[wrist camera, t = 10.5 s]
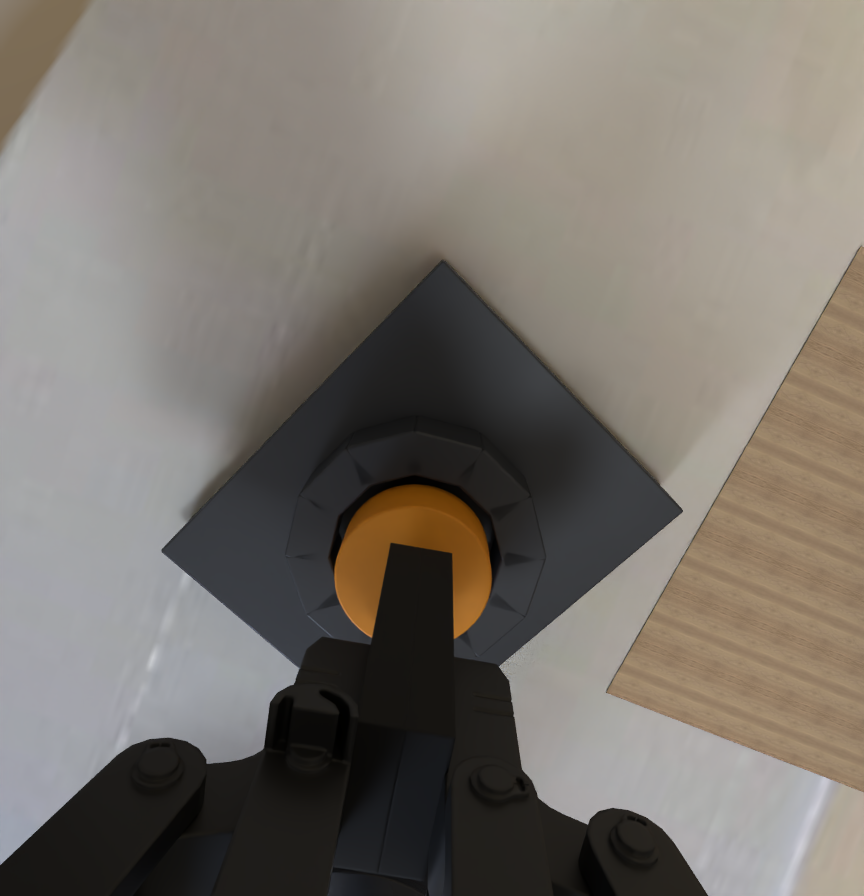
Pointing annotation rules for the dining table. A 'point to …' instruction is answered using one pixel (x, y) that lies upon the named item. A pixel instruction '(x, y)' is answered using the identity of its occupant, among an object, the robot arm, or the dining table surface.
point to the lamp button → (420, 525)
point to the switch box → (428, 480)
